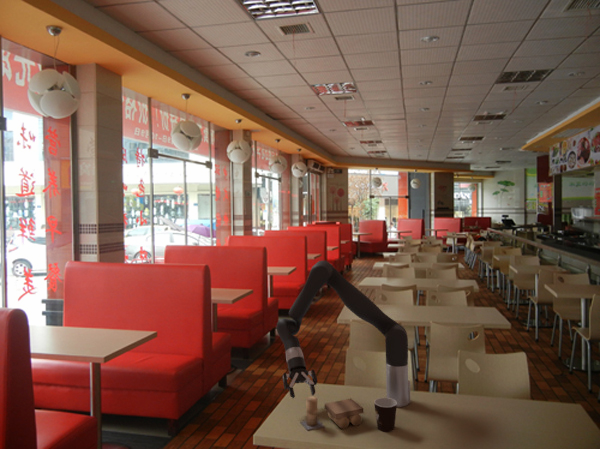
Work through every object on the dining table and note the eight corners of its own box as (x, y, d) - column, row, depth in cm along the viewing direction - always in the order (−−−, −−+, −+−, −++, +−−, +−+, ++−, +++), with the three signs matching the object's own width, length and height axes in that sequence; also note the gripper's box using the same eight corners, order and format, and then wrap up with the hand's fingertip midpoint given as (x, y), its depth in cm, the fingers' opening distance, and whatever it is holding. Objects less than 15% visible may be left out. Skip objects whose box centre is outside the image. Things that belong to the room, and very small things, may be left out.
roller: (314, 420, 185) (314, 395, 185) (319, 424, 181) (319, 399, 181) (304, 422, 184) (304, 397, 183) (309, 427, 180) (308, 401, 179)
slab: (351, 413, 191) (351, 398, 191) (363, 424, 182) (363, 408, 182) (324, 419, 187) (324, 403, 186) (336, 430, 177) (335, 414, 177)
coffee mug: (397, 434, 173) (397, 407, 173) (374, 432, 175) (373, 406, 175) (397, 420, 185) (396, 395, 184) (375, 418, 186) (374, 394, 186)
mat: (316, 419, 187) (316, 418, 187) (324, 426, 180) (323, 425, 180) (300, 422, 184) (300, 421, 184) (307, 430, 178) (307, 429, 178)
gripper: (280, 357, 199) (288, 394, 188) (312, 354, 202) (321, 389, 192) (278, 366, 204) (285, 402, 193) (309, 362, 208) (318, 397, 197)
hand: (303, 396), depth 193 cm, fingers open, 8 cm apart
